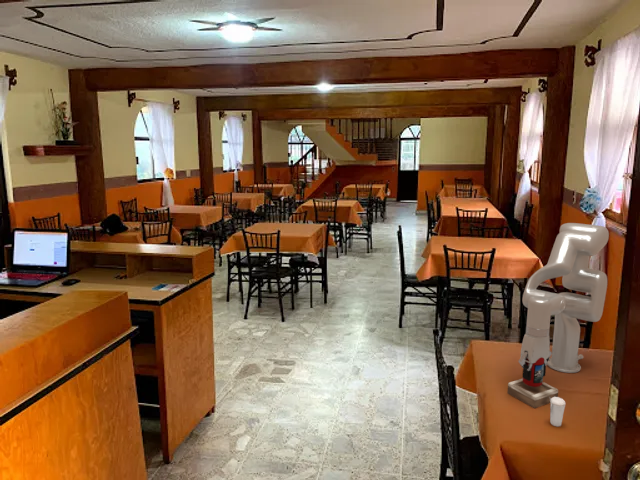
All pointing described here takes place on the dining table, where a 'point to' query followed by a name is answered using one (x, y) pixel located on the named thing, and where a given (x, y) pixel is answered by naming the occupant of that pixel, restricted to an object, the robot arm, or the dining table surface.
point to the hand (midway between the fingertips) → (533, 376)
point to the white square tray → (532, 393)
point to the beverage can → (536, 373)
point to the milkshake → (556, 411)
